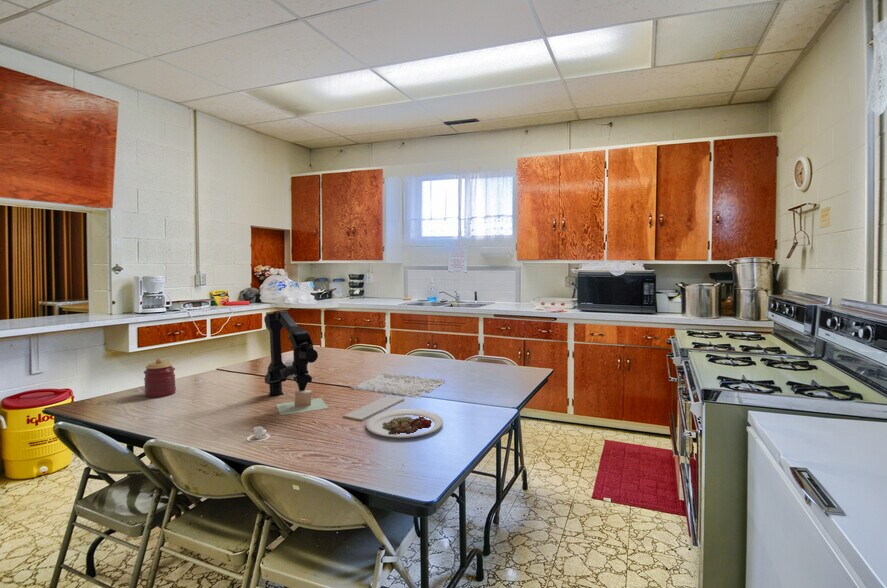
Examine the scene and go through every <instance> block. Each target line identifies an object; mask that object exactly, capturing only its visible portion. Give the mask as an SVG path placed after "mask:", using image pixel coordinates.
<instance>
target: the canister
mask: <svg viewBox="0 0 887 588" xmlns="http://www.w3.org/2000/svg"><path fill="white" fill-rule="evenodd" d="M173 365H174V364H173V362H172V363H171V362H170V361H166V360H165V361H164V360H163V359H162V358H157V359H155V361H154V362H150V363H149V364H147V365H145V370H144V371H143V374H144V378H143V380H144V395H145V397H146V398H151V399H152V398H162V397H167V396H171V395H174V394H175V393H176V390H177V387H176V374H175V370H176V368H175V367H173Z"/></svg>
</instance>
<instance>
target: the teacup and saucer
mask: <svg viewBox="0 0 887 588" xmlns="http://www.w3.org/2000/svg"><path fill="white" fill-rule="evenodd" d="M264 435H265V436H266V438H263V436H264ZM270 436H271V434H269V433H267V429H265V428H264V427H263V426H255V427H254V428H253V434H251V435H249V436H247V438H246V441H248V442H252V443H258V442H262V441H266V440H268V439H269V438H270ZM252 437H254V439H258V440H253V439H251V438H252ZM262 438H263V439H262ZM259 439H260V440H259Z"/></svg>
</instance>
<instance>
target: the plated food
mask: <svg viewBox="0 0 887 588" xmlns="http://www.w3.org/2000/svg"><path fill="white" fill-rule="evenodd" d="M405 415H413V416H419V418H416V419H412V418H411V417H408V416H407V417H404V416H405ZM420 416H422V417H420ZM424 417H426V418H429V419H431V420H432V421H433V422H434V423H435V425H434V427H433V428H432V429H431V430H429V431H427V432H424V433H420V434H416V435H407V436H403V435H401V436H400V433H406V434H410V433H414V432H416V431H417V430H418V429H422V428H429V427H431V423H432V421H431V420H427V419H425V418H424ZM443 424H444V420H443V419H442V417H441V416H440V415H438V414H436V413H434V412H431V411H428V410H427V411H426V410H422V409H410V408H409V409H408V408H407V409H404V408H403V409H394V410H387V411H384V412H383V411H382V412H379V413H377V414H375V415H373V416H371V417H369V418H367V419H366V422H365V428H366V429H367V430H368V431H369V432H370V433H372V434H374V435H378V436H381V437H387V438H396V439H397V438H402V439H403V438H405V439H406V438H414V437H420V436H421V437H422V436H425V435H429V434H431V433H434V432H436V431H438V430H439V429H440V428H442V427H443ZM410 427H411V428H410ZM396 433H397V434H399V435H397V434H396Z"/></svg>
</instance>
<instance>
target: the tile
mask: <svg viewBox="0 0 887 588" xmlns="http://www.w3.org/2000/svg"><path fill="white" fill-rule="evenodd" d="M312 393H313V392H312V390H311V389H307V390H306V389H305V390H304V391H299V390H295V391H294V394H293V395H294V396H293V402H294V407H298V406H305V405H311V399H312Z"/></svg>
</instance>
